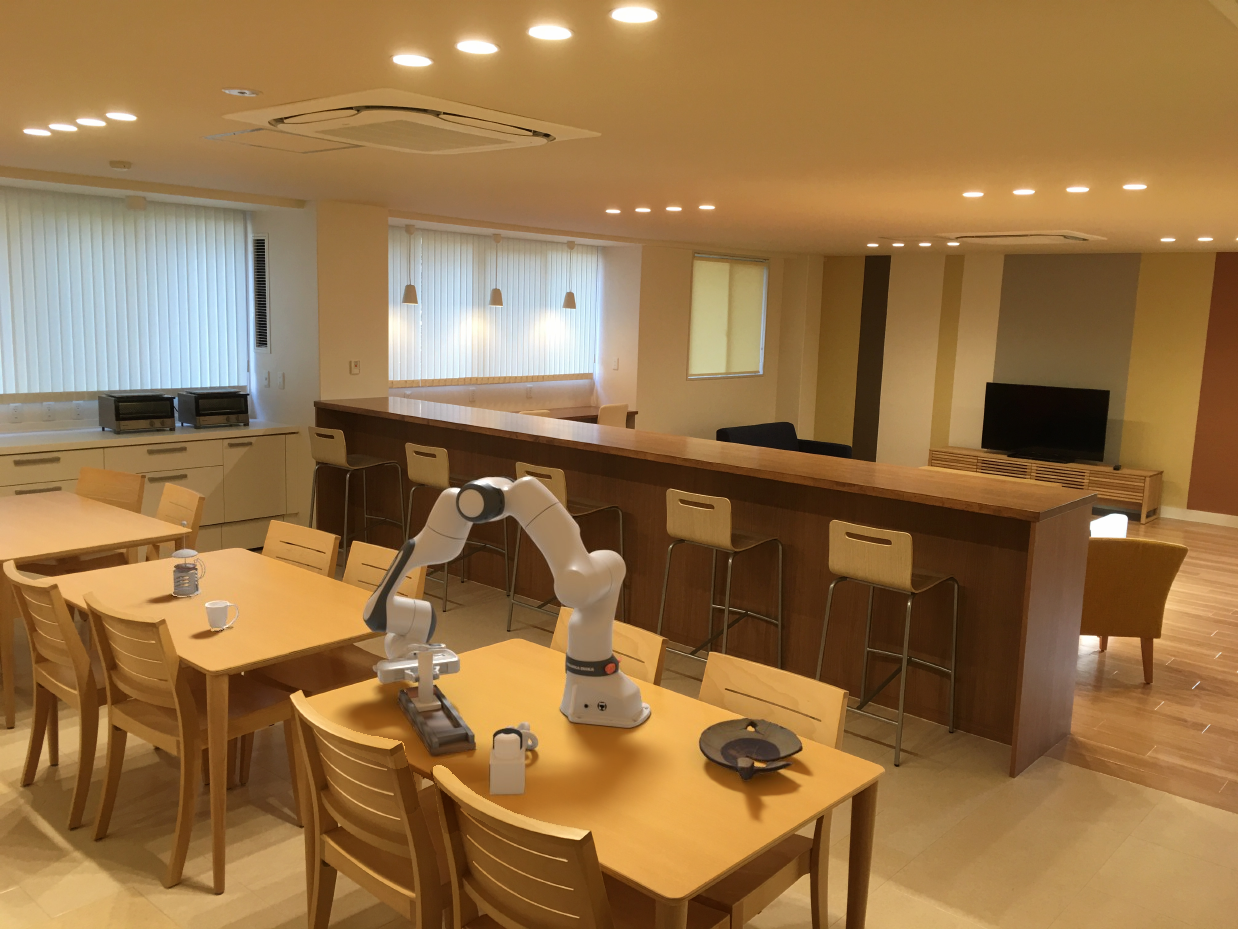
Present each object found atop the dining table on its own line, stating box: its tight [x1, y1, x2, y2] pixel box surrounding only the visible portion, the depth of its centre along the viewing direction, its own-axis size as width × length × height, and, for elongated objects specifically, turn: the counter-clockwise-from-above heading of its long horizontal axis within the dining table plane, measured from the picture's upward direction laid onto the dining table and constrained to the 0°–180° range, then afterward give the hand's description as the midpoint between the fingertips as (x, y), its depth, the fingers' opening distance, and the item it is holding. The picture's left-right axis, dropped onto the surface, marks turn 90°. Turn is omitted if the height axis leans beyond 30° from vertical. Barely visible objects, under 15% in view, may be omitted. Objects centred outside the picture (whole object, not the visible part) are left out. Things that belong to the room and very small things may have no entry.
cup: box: [204, 600, 240, 631], centre depth 293 cm, size 7×10×8 cm
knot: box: [505, 721, 539, 751], centre depth 216 cm, size 8×8×6 cm
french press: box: [171, 521, 206, 596], centre depth 327 cm, size 10×12×25 cm
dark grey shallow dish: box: [698, 717, 803, 782], centre depth 211 cm, size 22×30×8 cm
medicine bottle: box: [488, 727, 526, 796], centre depth 199 cm, size 7×7×12 cm
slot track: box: [397, 684, 477, 757], centre depth 228 cm, size 32×10×4 cm, turn 26°
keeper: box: [411, 651, 441, 712], centre depth 235 cm, size 6×6×13 cm
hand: (426, 678), depth 234 cm, fingers closed on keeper, 4 cm apart
